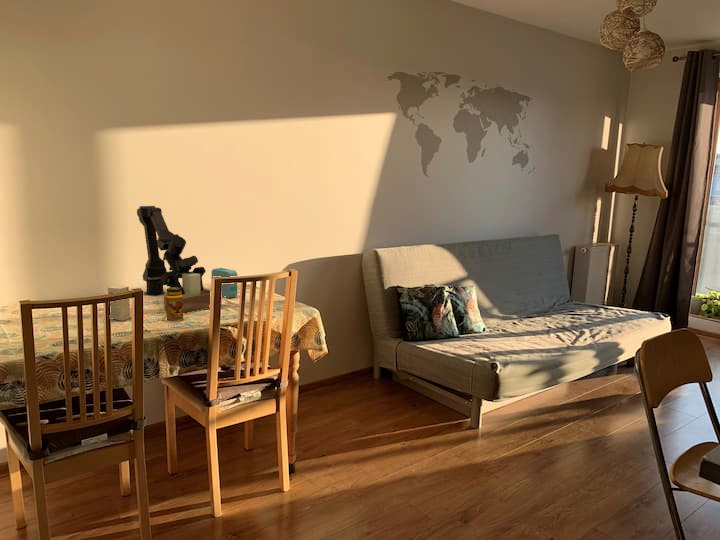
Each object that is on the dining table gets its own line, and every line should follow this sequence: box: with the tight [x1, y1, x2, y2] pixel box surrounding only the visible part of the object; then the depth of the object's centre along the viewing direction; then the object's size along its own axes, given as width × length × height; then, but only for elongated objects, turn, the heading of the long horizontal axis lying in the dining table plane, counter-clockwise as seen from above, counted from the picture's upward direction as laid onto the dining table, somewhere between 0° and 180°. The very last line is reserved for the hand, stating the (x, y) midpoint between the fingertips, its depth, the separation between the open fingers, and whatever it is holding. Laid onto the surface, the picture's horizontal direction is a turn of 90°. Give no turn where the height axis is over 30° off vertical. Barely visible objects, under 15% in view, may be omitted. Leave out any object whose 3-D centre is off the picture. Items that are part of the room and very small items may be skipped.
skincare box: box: [107, 285, 131, 321], centre depth 218 cm, size 6×4×12 cm
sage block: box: [181, 273, 201, 298], centre depth 237 cm, size 5×5×14 cm
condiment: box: [158, 287, 189, 323], centre depth 220 cm, size 7×8×12 cm
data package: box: [211, 267, 238, 298], centre depth 261 cm, size 12×4×12 cm, turn 54°
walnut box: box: [163, 288, 211, 314], centre depth 238 cm, size 10×19×6 cm, turn 145°
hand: (193, 292), depth 236 cm, fingers open, 9 cm apart
